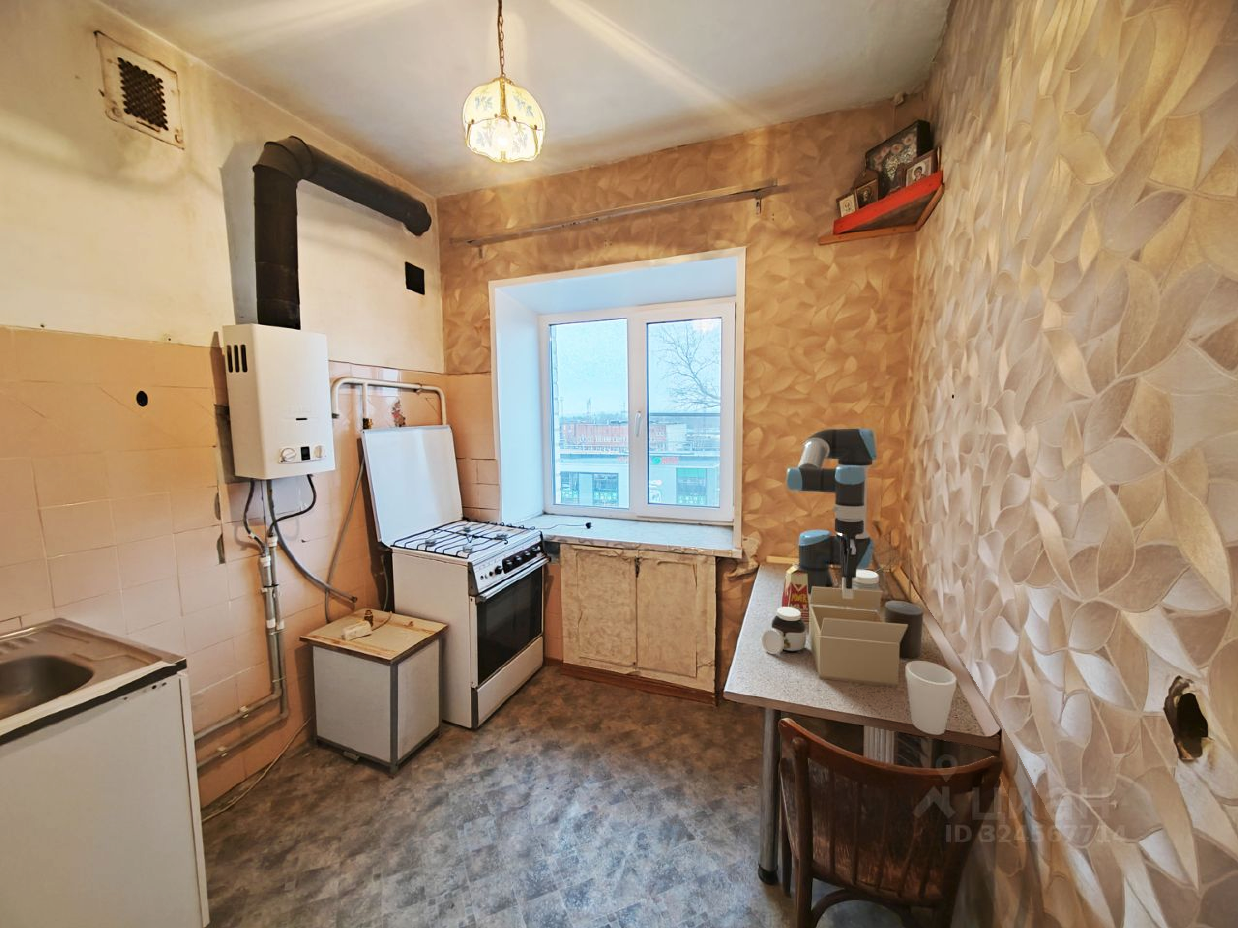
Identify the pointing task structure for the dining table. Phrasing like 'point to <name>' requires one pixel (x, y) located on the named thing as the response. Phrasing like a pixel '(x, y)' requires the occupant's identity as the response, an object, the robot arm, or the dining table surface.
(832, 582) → the robot arm
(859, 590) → the back flap
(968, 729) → the dining table surface
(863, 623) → the front flap
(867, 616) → the carton
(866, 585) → the jar
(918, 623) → the pillar candle
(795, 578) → the milk carton
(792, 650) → the spread jar
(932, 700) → the foam cup
